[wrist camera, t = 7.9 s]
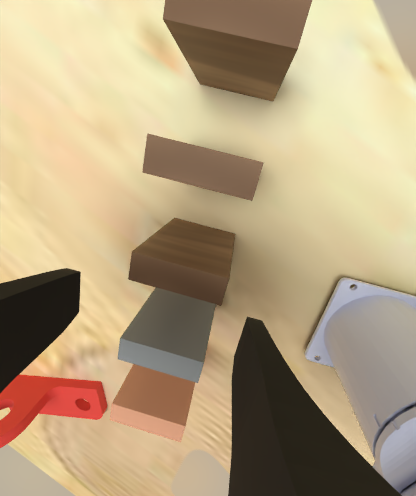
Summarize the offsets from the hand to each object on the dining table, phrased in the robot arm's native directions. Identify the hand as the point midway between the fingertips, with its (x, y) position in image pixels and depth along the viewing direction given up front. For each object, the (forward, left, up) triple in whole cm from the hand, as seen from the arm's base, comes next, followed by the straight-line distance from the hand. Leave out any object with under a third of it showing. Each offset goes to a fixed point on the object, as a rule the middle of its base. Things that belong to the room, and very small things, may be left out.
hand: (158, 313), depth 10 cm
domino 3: (0, +11, -10) cm, 15 cm away
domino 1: (0, -6, -10) cm, 12 cm away
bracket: (+12, +23, -11) cm, 28 cm away
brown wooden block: (0, -11, -10) cm, 16 cm away
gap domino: (0, +5, -10) cm, 12 cm away
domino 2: (0, 0, -10) cm, 11 cm away
